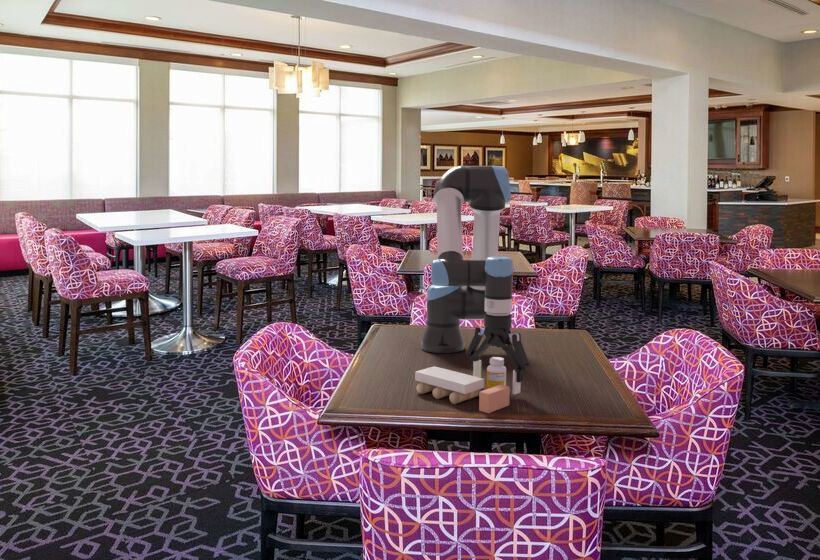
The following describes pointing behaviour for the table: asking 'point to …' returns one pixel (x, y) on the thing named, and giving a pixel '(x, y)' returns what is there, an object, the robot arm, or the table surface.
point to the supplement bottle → (496, 372)
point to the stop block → (494, 398)
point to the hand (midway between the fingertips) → (496, 388)
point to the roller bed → (446, 393)
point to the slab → (449, 379)
